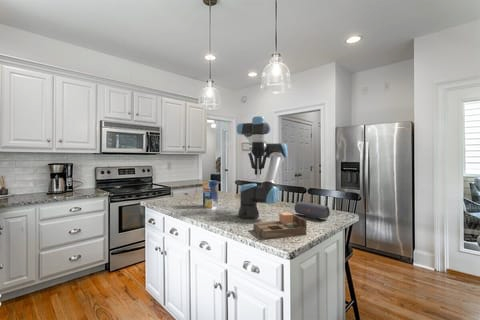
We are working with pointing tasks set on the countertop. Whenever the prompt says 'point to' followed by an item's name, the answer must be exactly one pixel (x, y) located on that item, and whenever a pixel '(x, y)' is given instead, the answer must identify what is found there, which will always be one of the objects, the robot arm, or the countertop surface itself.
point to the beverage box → (210, 193)
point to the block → (286, 218)
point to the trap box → (281, 228)
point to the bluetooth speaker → (312, 210)
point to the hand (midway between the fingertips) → (257, 179)
